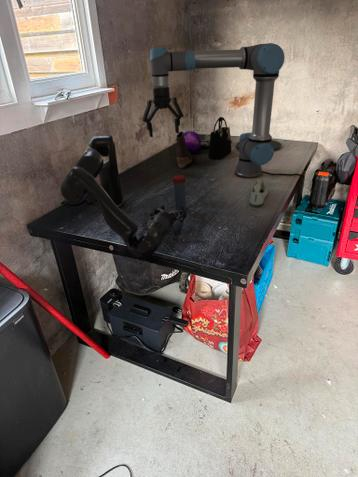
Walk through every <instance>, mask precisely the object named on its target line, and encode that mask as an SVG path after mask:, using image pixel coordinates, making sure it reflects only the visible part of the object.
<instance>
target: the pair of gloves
mask: <svg viewBox="0 0 358 477" xmlns="http://www.w3.org/2000/svg"><path fill="white" fill-rule="evenodd" d="M232 143H233V140H231V144H232ZM209 145H210V135H208V134H205V135H204V139H201V145H200V148H205V147H208V148H209ZM200 148H199V149H200Z"/></svg>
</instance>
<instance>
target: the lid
mask: <svg viewBox="0 0 358 477" xmlns="http://www.w3.org/2000/svg"><path fill="white" fill-rule="evenodd" d="M172 182H173V184H174V183H178V184H179V183H184V182H185V183H186V176H185V175H184V174H183V175H182V174H176V175H173V176H172Z"/></svg>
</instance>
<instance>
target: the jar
mask: <svg viewBox="0 0 358 477" xmlns="http://www.w3.org/2000/svg"><path fill="white" fill-rule="evenodd" d="M185 183H186V181H185V182H184V183H179V184H178V183H174V182H173V186H174V188H173V189H174V201H175V203H174V204H175V210H177V211H178V210H180V208H181V206H183V208H184V211H187V210H186V209H187V206H186V205H187V204H186V202H187V201H186V184H185Z"/></svg>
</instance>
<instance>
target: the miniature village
mask: <svg viewBox="0 0 358 477" xmlns="http://www.w3.org/2000/svg"><path fill="white" fill-rule="evenodd" d="M239 142H240V141H238V142H236V144H235V148H236V149H237V150H238V151H239ZM271 146H272V147H273V149H274V152H276V151H279V150H280V149H281V148H282V143H281V142H279V141H277V140H273V139H272V143H271Z"/></svg>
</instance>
